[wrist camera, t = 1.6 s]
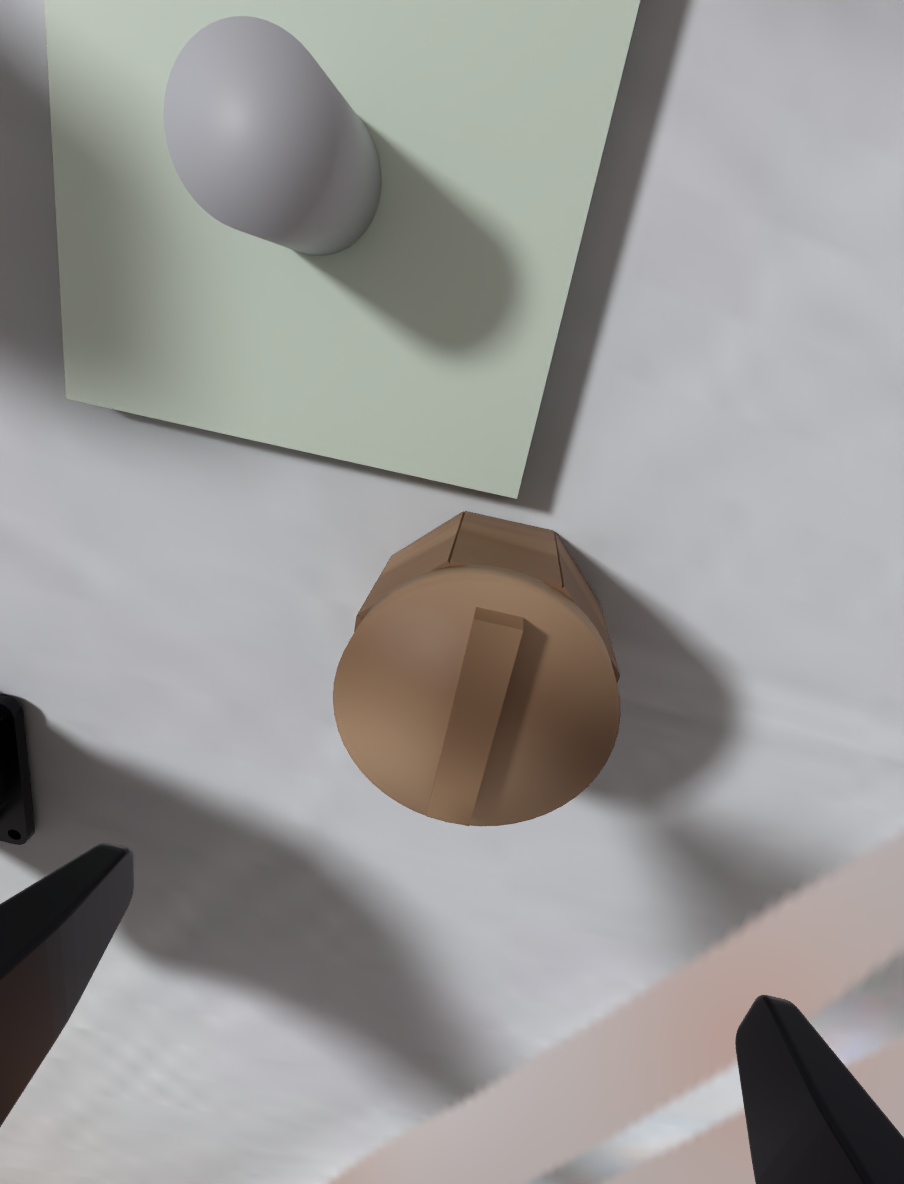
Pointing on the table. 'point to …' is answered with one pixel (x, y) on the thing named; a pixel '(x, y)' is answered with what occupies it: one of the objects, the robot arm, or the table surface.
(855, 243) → the table surface
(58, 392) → the table surface
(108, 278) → the pale green flat slab
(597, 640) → the cap
